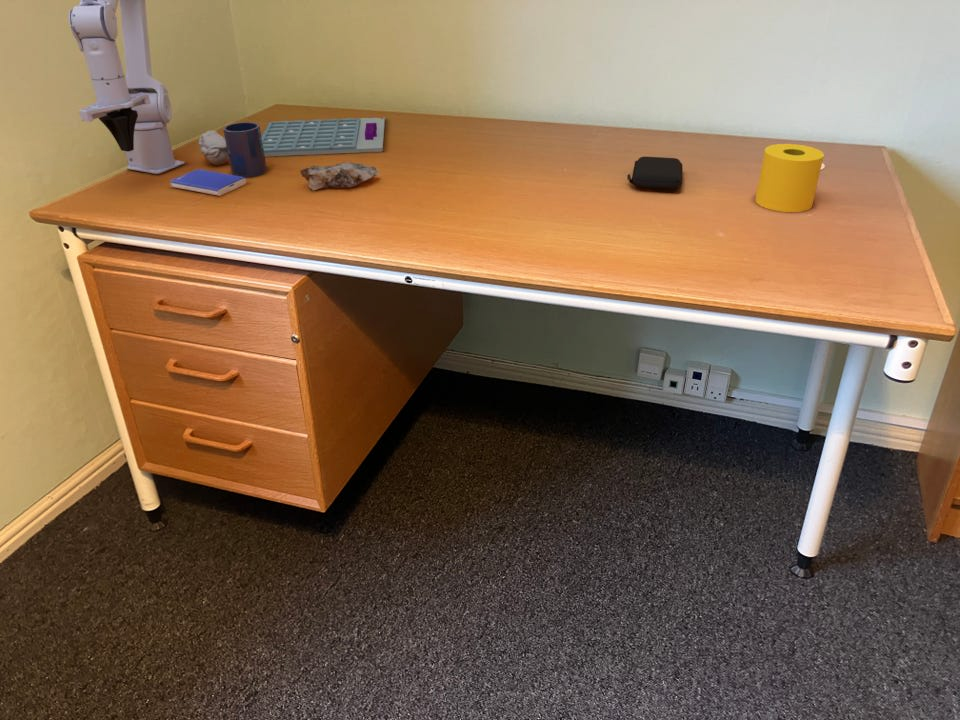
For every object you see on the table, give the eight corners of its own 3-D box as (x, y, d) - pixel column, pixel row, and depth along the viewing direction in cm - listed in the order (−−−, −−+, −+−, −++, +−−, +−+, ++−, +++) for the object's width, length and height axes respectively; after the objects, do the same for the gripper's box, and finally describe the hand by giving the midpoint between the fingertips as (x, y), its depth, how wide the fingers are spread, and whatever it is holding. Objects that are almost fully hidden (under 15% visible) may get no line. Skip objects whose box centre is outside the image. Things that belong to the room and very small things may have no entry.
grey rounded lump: (219, 157, 168) (212, 126, 164) (239, 163, 165) (233, 131, 161) (196, 164, 164) (189, 132, 160) (217, 170, 161) (210, 137, 157)
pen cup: (224, 174, 158) (215, 129, 153) (247, 164, 164) (239, 120, 158) (251, 179, 155) (243, 133, 150) (274, 169, 161) (266, 124, 156)
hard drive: (169, 180, 151) (217, 189, 146) (198, 168, 157) (245, 176, 153) (171, 187, 152) (218, 196, 147) (200, 175, 158) (246, 183, 153)
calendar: (272, 123, 191) (270, 114, 190) (385, 119, 193) (384, 109, 192) (254, 157, 168) (252, 146, 167) (382, 152, 170) (381, 141, 169)
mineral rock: (379, 176, 156) (377, 155, 153) (376, 189, 149) (374, 167, 147) (307, 178, 156) (304, 157, 153) (301, 192, 149) (298, 170, 146)
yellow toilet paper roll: (784, 216, 135) (795, 164, 130) (743, 198, 142) (752, 149, 137) (824, 205, 139) (836, 155, 134) (782, 189, 146) (792, 140, 141)
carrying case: (629, 167, 158) (625, 191, 146) (630, 153, 157) (626, 176, 145) (681, 170, 156) (681, 195, 144) (683, 156, 155) (683, 179, 143)
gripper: (90, 87, 131) (112, 163, 139) (153, 70, 142) (170, 142, 150) (62, 83, 134) (85, 158, 141) (126, 67, 145) (144, 138, 152)
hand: (127, 150), depth 146 cm, fingers closed
